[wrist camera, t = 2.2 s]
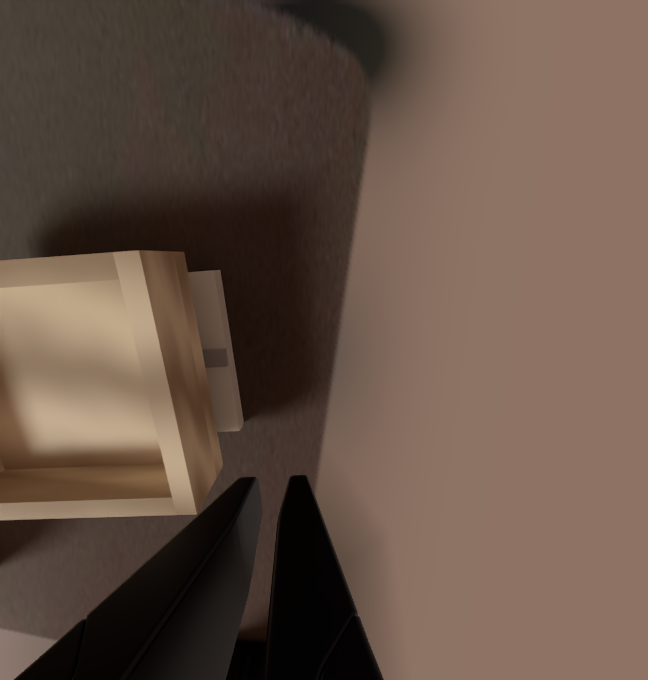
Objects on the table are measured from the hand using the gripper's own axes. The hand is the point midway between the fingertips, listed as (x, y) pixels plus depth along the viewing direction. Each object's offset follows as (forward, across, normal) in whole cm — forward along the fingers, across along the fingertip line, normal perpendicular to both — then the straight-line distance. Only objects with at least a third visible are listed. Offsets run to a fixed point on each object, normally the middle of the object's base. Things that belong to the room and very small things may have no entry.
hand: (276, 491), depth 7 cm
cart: (+11, +12, 0) cm, 16 cm away
